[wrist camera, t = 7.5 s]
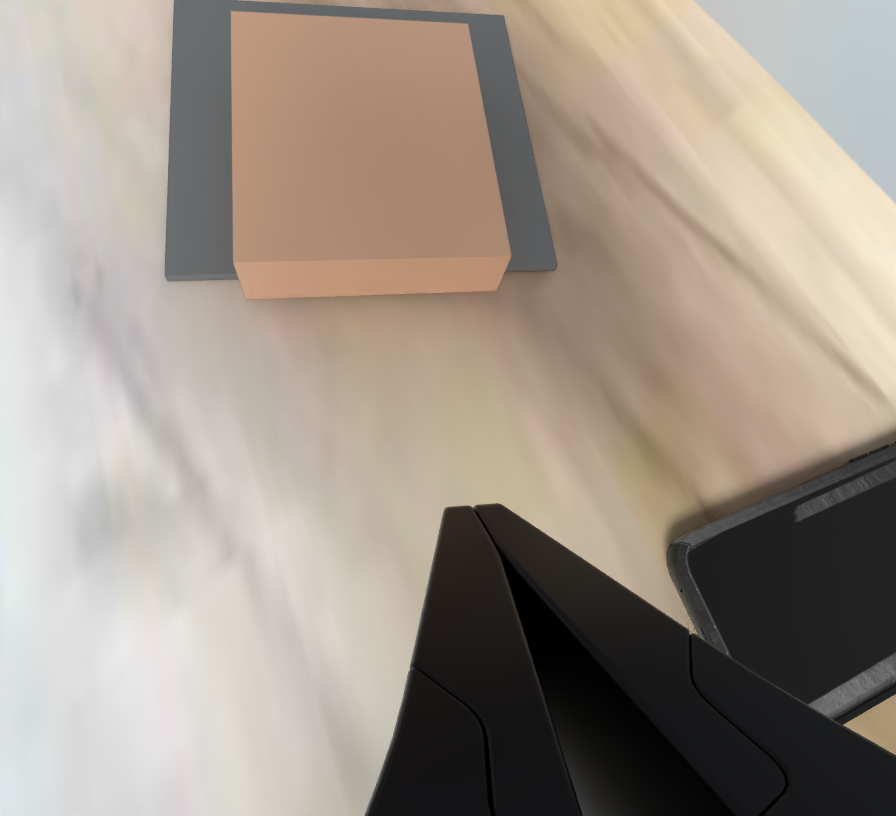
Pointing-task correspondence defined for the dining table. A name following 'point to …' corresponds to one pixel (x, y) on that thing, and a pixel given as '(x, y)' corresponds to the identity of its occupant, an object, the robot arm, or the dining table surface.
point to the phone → (804, 586)
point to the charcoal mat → (210, 134)
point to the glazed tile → (360, 159)
